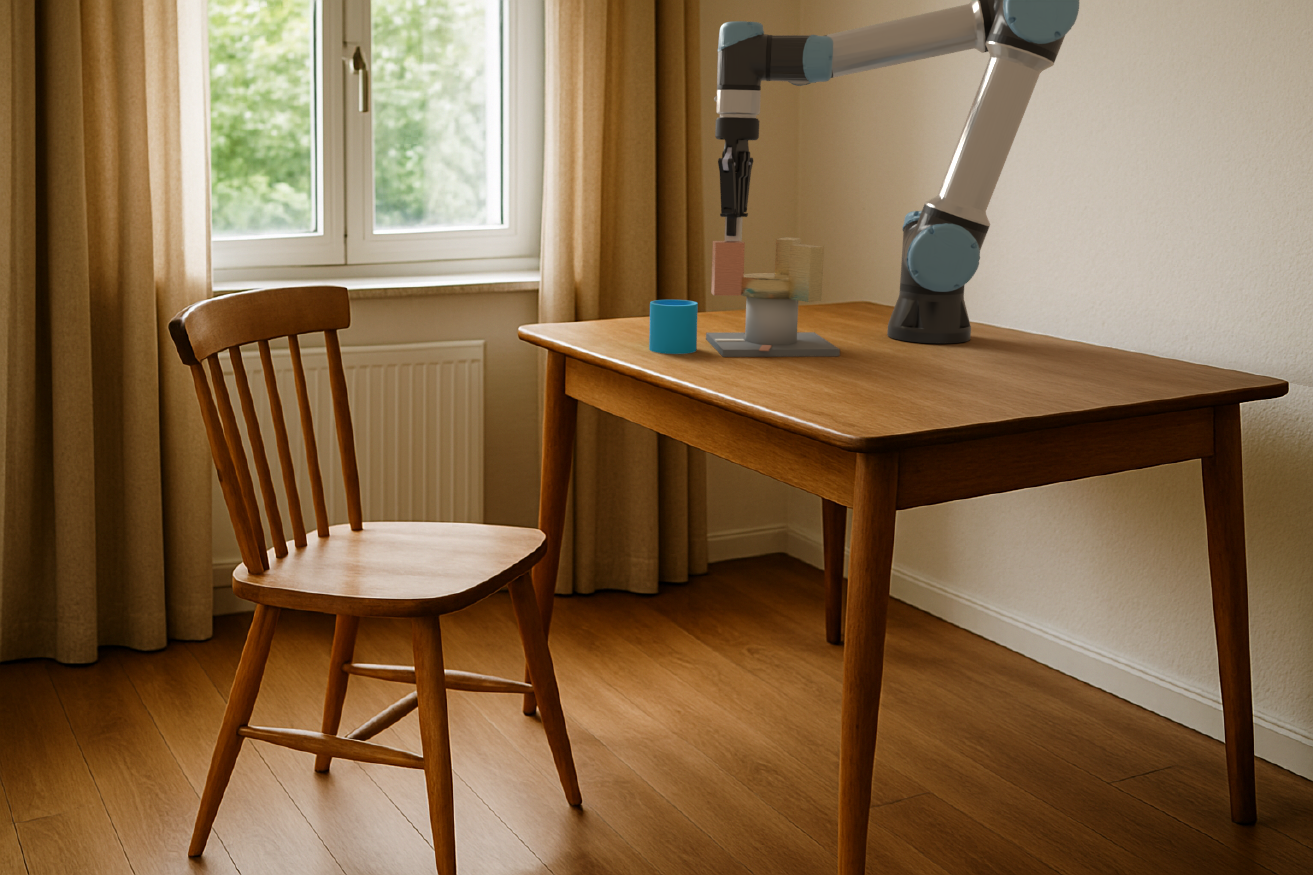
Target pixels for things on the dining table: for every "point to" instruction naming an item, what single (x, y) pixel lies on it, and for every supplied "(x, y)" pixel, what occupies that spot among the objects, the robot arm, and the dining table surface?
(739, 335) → the post base
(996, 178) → the robot arm
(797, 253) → the three-blade desk fan
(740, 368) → the dining table surface
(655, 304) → the mug
